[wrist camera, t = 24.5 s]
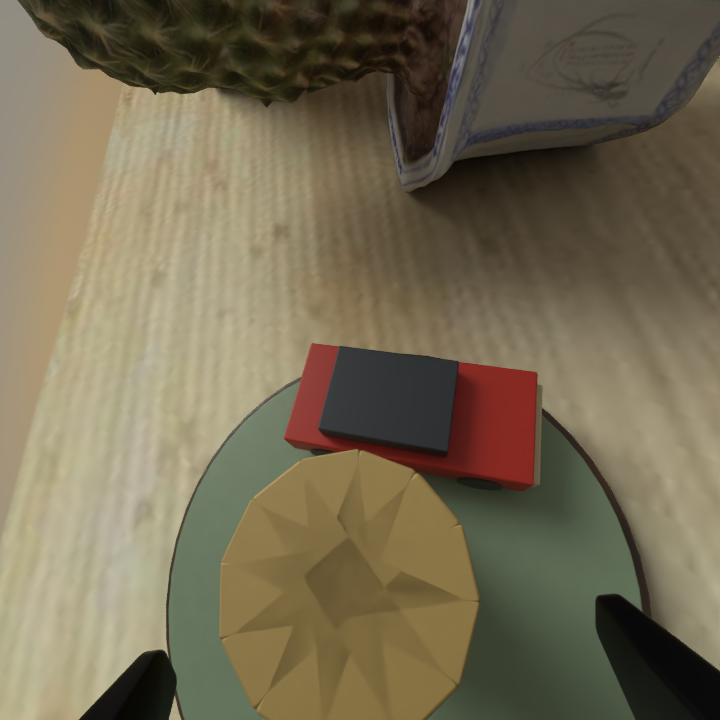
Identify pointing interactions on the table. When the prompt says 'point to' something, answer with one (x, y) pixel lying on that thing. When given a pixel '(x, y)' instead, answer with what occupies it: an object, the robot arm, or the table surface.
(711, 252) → the table surface
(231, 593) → the turntable
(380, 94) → the table surface
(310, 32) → the potted plant
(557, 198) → the table surface
